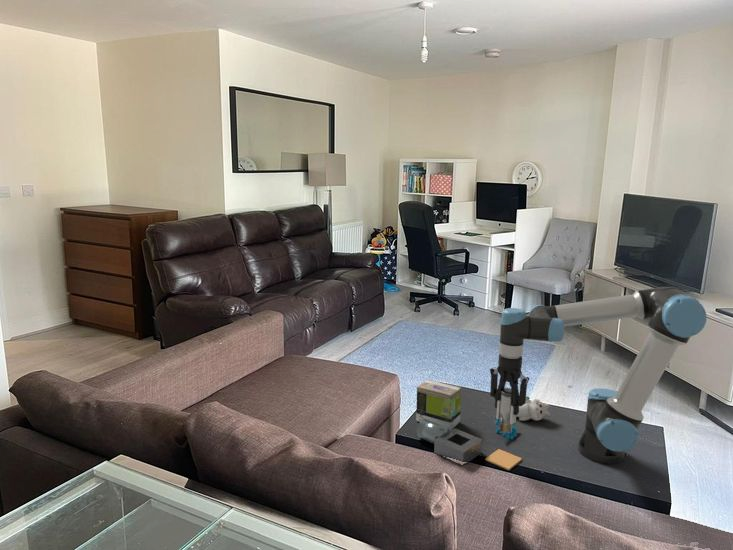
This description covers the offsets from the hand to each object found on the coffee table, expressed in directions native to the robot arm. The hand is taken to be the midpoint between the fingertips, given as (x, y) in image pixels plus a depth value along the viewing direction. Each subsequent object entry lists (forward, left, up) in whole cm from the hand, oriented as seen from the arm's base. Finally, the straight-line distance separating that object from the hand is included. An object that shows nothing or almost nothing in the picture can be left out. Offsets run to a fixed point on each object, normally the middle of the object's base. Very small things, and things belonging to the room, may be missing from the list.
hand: (505, 419), depth 179 cm
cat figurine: (+8, -35, -15) cm, 39 cm away
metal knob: (0, 0, -4) cm, 4 cm away
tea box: (+33, -7, -15) cm, 37 cm away
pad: (0, 0, -15) cm, 15 cm away
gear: (+8, -16, -15) cm, 24 cm away
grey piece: (+19, +7, -15) cm, 25 cm away
